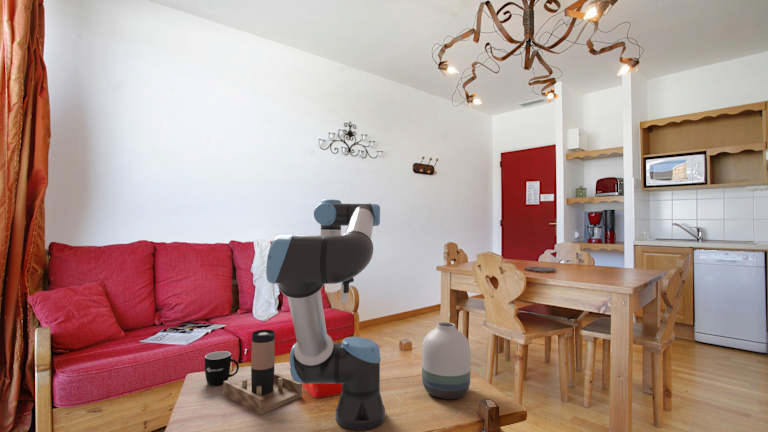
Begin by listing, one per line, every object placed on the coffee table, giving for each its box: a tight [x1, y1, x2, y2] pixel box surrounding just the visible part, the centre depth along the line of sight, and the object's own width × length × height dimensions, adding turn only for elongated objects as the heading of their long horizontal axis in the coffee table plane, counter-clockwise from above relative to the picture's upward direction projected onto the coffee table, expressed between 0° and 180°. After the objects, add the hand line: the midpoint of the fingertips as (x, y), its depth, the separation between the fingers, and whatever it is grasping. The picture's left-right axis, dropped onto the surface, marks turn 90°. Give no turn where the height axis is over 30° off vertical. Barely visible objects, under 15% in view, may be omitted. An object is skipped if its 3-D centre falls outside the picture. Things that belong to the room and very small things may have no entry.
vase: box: [421, 321, 471, 400], centre depth 134 cm, size 17×17×24 cm
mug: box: [204, 350, 240, 387], centre depth 140 cm, size 12×9×10 cm
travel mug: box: [250, 329, 276, 395], centre depth 130 cm, size 8×8×20 cm
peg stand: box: [222, 371, 303, 416], centre depth 129 cm, size 22×16×6 cm
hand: (329, 300), depth 138 cm, fingers open, 13 cm apart
